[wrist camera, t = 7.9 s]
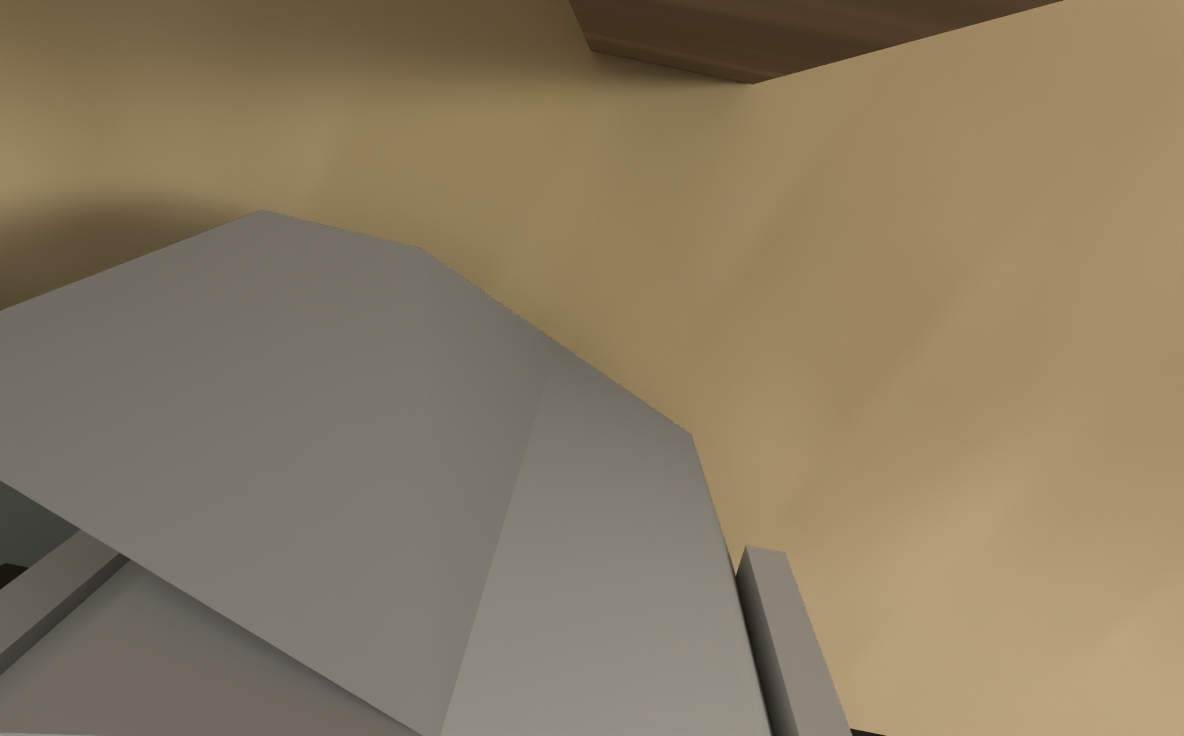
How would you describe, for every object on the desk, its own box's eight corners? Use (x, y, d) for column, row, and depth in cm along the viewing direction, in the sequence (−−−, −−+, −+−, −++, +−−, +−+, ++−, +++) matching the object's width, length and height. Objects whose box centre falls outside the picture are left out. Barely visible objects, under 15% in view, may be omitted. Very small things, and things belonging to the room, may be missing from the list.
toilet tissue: (195, 93, 12) (-839, 25, 3) (828, 529, 14) (1135, 1138, 5) (1, 496, 14) (-844, 1004, 6) (558, 809, 16) (491, 1505, 8)
